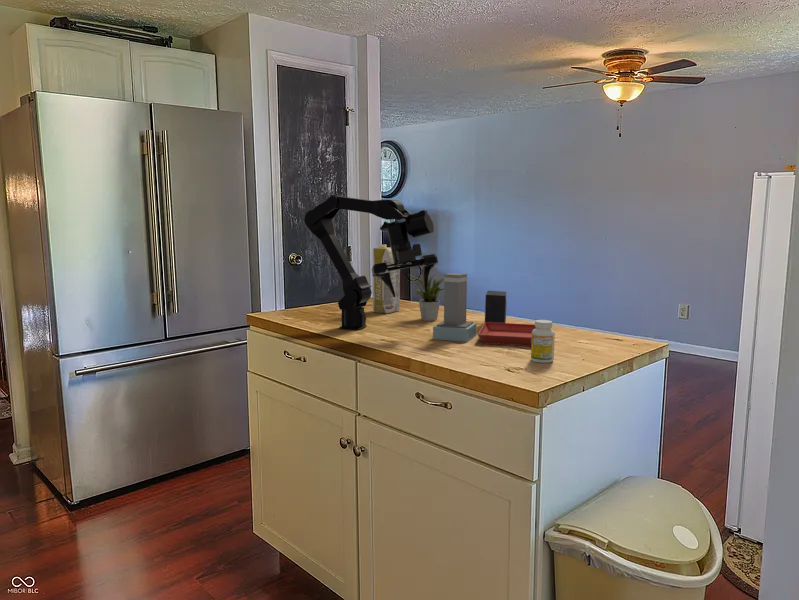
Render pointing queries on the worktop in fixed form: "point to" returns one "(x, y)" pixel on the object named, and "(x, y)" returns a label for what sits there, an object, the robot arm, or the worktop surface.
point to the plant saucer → (506, 333)
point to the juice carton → (381, 293)
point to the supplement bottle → (542, 342)
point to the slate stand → (455, 331)
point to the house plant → (429, 299)
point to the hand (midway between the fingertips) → (410, 294)
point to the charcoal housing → (455, 298)
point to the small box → (495, 306)
